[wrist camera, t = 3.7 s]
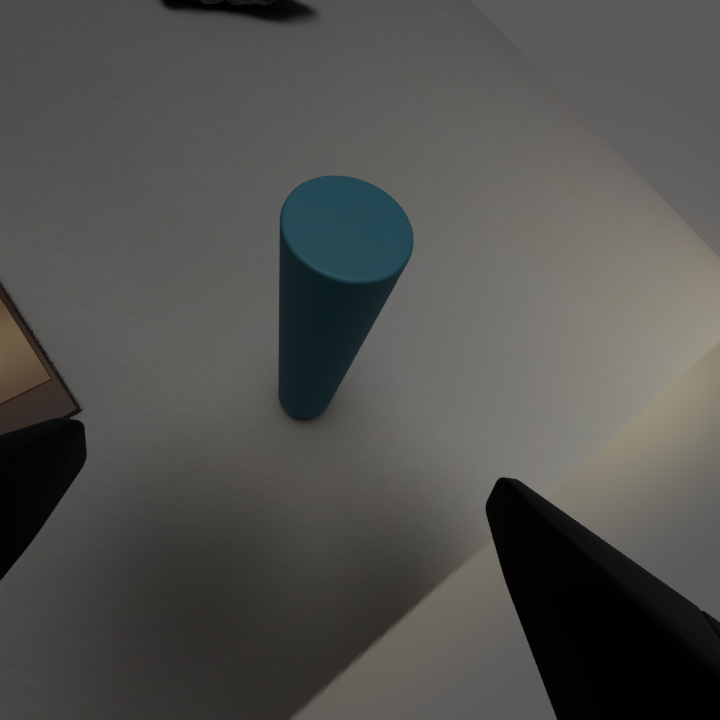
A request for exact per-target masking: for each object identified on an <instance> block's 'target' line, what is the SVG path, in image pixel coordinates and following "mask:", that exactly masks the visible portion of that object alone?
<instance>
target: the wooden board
mask: <svg viewBox="0 0 720 720" xmlns="http://www.w3.org/2000/svg"><path fill="white" fill-rule="evenodd" d="M79 411H81V410H80V408H79V406H78V405H77V403H76V402H75V400H74V399H73V397H72V395H71V394H70V392H69V391H68V389H67V388H66V386H65V384H64V383H63V381H62V380H61V378H60V377H59V375H58V373H57V372H56V370H55V369H54V367H53V366H52V364H51V363H50V361H49V359H48V358H47V356H46V355H45V353H44V352H43V350H42V348H41V347H40V345H39V344H38V342H37V341H36V339H35V337H34V336H33V334H32V333H31V331H30V330H29V328H28V326H27V325H26V323H25V322H24V320H23V319H22V317H21V315H20V314H19V312H18V311H17V309H16V308H15V306H14V304H13V303H12V301H11V300H10V298H9V297H8V295H7V293H6V292H5V290H4V289H3V287H2V286H1V284H0V435H2V434H5V433H8V432H11V431H15V430H18V429H21V428H24V427H27V426H31V425H34V424H37V423H40V422H44V421H47V420H50V419H53V418H68V417H70V416H72V415H74V414H76V413H77V412H79Z"/></svg>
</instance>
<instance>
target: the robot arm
mask: <svg viewBox="0 0 720 720" xmlns="http://www.w3.org/2000/svg"><path fill="white" fill-rule="evenodd" d="M86 456H87V451H86V439H85V428H84V425H83V423H82V422H81V421H79V420H73V419H66V418H53V419H50V420H47V421H44V422H40V423H37V424H34V425H31V426H27V427H24V428H21V429H18V430H15V431H11V432H8V433H5V434H2V435H0V580H1V579H2V578H3V577H4V576H5V574H6V573H7V572H8V571H9V569H10V568H11V567H12V566H13V565H14V563H15V562H16V561H17V560H18V558H19V557H20V556H21V555H22V554H23V552H24V551H25V550H26V548H27V547H28V546H29V545H30V543H31V542H32V541H33V539H34V538H35V536H36V535H37V534H38V532H39V531H40V530H41V528H42V527H43V525H44V524H45V522H46V521H47V519H48V518H49V516H50V515H51V513H52V512H53V510H54V509H55V507H56V506H57V504H58V503H59V501H60V500H61V498H62V497H63V496H64V494H65V493H66V491H67V490H68V488H69V487H70V485H71V484H72V482H73V481H74V479H75V478H76V476H77V475H78V473H79V472H80V470H81V469H82V467H83V466H84V463H85V461H86ZM486 515H487V519H488V522H489V526H490V529H491V533H492V537H493V540H494V544H495V547H496V551H497V554H498V558H499V562H500V565H501V568H502V572H503V575H504V578H505V581H506V584H507V587H508V590H509V593H510V595H511V598H512V601H513V603H514V606H515V609H516V611H517V614H518V617H519V619H520V622H521V625H522V627H523V630H524V633H525V635H526V638H527V641H528V643H529V646H530V648H531V651H532V654H533V657H534V659H535V662H536V664H537V667H538V670H539V672H540V675H541V678H542V680H543V683H544V686H545V689H546V691H547V693H548V696H549V699H550V702H551V704H552V707H553V710H554V712H555V715H556V718H557V720H720V622H718V621H717V620H716V619H714V618H713V617H711V616H710V615H709V614H707V613H706V612H704V611H701V610H700V609H699V608H698V607H697V606H696V605H694V604H693V603H692V602H690V601H689V600H687V599H686V598H685V597H683V596H682V595H680V594H679V593H677V592H676V591H675V590H673V589H672V588H670V587H669V586H668V585H666V584H665V583H663V582H662V581H660V580H659V579H658V578H656V577H655V576H653V575H652V574H651V573H649V572H648V571H646V570H645V569H644V568H642V567H641V566H639V565H638V564H636V563H635V562H634V561H632V560H631V559H629V558H628V557H626V556H625V555H624V554H622V553H621V552H619V551H618V550H616V549H615V548H614V547H612V546H611V545H610V544H608V543H607V542H605V541H604V540H602V539H601V538H600V537H598V536H597V535H595V534H594V533H593V532H591V531H590V530H588V529H587V528H586V527H584V526H583V525H581V524H580V523H579V522H577V521H576V520H574V519H573V518H571V517H570V516H569V515H567V514H566V513H564V512H563V511H562V510H560V509H559V508H557V507H556V506H554V505H553V504H552V503H550V502H549V501H547V500H546V499H545V498H543V497H542V496H540V495H539V494H537V493H536V492H535V491H533V490H532V489H530V488H529V487H528V486H526V485H525V484H523V483H522V482H521V481H519V480H517V479H512V478H505V477H502V478H499V479H498V480H497V482H496V483H495V485H494V488H493V490H492V492H491V494H490V496H489V498H488V500H487V502H486Z"/></svg>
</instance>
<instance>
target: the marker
mask: <svg viewBox="0 0 720 720" xmlns="http://www.w3.org/2000/svg"><path fill="white" fill-rule="evenodd" d="M412 250H413V232H412V227H411V224H410V222H409V219H408V217H407V215H406V214H405V212H404V211H403V209H402V208H401V207H400V206H399V204H398V203H397V202H396V201H395V200H394V199H393V198H392V197H391V196H389V195H388V194H387V193H385V192H384V191H382V190H381V189H379V188H378V187H376V186H374V185H372V184H370V183H367V182H365V181H362V180H359V179H356V178H351V177H345V176H323V177H318V178H315V179H311V180H309V181H307V182H304V183H303V184H301V185H299V186H298V187H297V188H295V189H294V190H293V191H292V192H291V193H290V195H289V196H288V197H287V199H286V201H285V202H284V204H283V207H282V210H281V215H280V273H279V400H280V403H281V405H282V407H283V408H284V410H285V411H286V412H287V413H288V414H289V415H290V416H292V417H294V418H296V419H300V420H307V419H311V418H313V417H316V416H318V415H320V414H321V413H322V412H324V411H325V409H326V408H327V407H328V405H329V403H330V401H331V400H332V398H333V396H334V394H335V392H336V391H337V389H338V387H339V385H340V383H341V382H342V380H343V378H344V376H345V374H346V373H347V371H348V369H349V367H350V365H351V364H352V362H353V360H354V358H355V356H356V355H357V353H358V351H359V349H360V347H361V345H362V344H363V342H364V340H365V338H366V336H367V335H368V333H369V331H370V329H371V327H372V326H373V324H374V322H375V320H376V318H377V317H378V315H379V313H380V311H381V309H382V308H383V306H384V304H385V302H386V300H387V299H388V297H389V295H390V293H391V291H392V290H393V288H394V286H395V284H396V282H397V281H398V279H399V277H400V275H401V273H402V272H403V270H404V268H405V266H406V264H407V263H408V261H409V259H410V256H411V253H412Z"/></svg>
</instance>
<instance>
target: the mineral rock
mask: <svg viewBox="0 0 720 720" xmlns="http://www.w3.org/2000/svg"><path fill="white" fill-rule="evenodd" d="M192 1H197V0H192ZM199 1H201V2H203V3H205V4H217V3H221V2H223V1H225V0H199ZM226 1H227V2H228V3H230V4H233V5H237V6H238V5H242V4H248V5H251V4H259V5H262V6H266V5H271V4H272V3H273V2H275V1H278V0H226Z"/></svg>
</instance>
